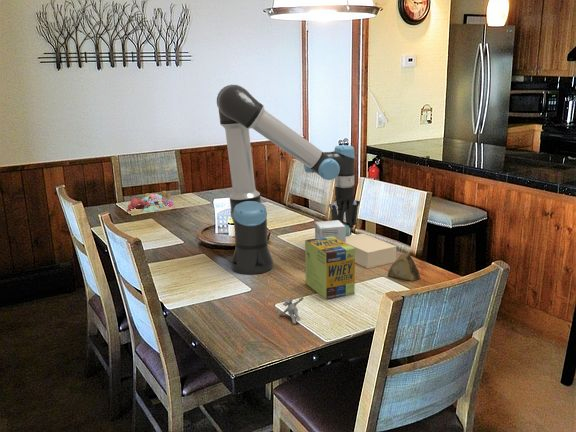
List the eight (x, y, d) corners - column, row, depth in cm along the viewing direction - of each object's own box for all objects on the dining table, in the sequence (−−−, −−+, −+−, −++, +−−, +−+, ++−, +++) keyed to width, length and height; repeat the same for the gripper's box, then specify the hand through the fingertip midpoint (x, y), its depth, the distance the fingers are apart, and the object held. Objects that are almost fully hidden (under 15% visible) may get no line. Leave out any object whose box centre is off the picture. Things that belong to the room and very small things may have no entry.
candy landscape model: (132, 206, 303) (130, 189, 300) (176, 203, 305) (175, 187, 303) (124, 218, 279) (122, 199, 276) (172, 215, 281) (171, 197, 279)
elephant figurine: (278, 326, 157) (272, 306, 164) (290, 335, 160) (283, 314, 167) (303, 308, 155) (295, 288, 162) (314, 316, 159) (306, 296, 165)
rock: (379, 270, 192) (397, 275, 183) (389, 249, 193) (408, 253, 185) (399, 283, 196) (418, 288, 188) (408, 262, 198) (427, 266, 190)
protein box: (326, 300, 174) (326, 252, 170) (305, 283, 188) (304, 239, 184) (355, 294, 178) (355, 247, 174) (332, 278, 192) (332, 235, 188)
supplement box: (346, 272, 197) (346, 226, 192) (320, 274, 195) (320, 228, 191) (339, 263, 206) (339, 219, 201) (315, 265, 204) (314, 221, 200)
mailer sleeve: (395, 261, 206) (396, 246, 204) (367, 268, 200) (367, 252, 198) (363, 247, 223) (363, 233, 221) (336, 253, 217) (336, 238, 215)
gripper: (333, 189, 209) (334, 249, 215) (366, 184, 217) (365, 242, 223) (322, 186, 216) (323, 244, 222) (354, 181, 223) (354, 238, 229)
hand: (344, 243), depth 222 cm, fingers closed on mailer tray, 2 cm apart
